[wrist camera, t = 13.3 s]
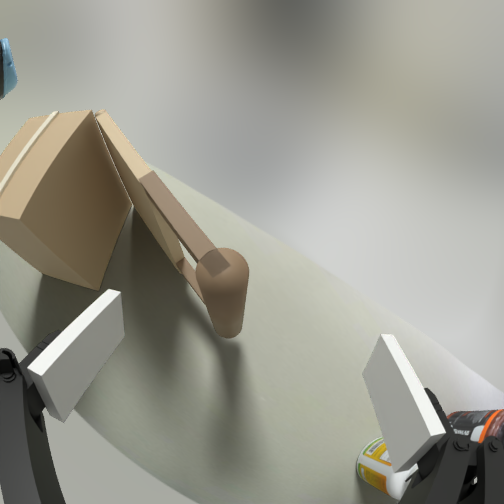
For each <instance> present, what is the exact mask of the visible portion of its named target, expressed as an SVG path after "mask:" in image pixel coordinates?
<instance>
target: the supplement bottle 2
mask: <svg viewBox="0 0 504 504" xmlns="http://www.w3.org/2000/svg"><path fill="white" fill-rule="evenodd" d="M447 419H448V421H449V422H450V424H451V426H452V428H453V430H454V432H455V434H462V435H464V436H465V437H467V438H468V440H469V441H470V443H481V442H482V441H483V440H484V439H485V438H486V437H488V436H495V437H497V438H499V439H500V441H501V442H502V445H503V449H504V409H502V410H487V411H458V412H454V413H451V414H450V415H448V416H447Z"/></svg>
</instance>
